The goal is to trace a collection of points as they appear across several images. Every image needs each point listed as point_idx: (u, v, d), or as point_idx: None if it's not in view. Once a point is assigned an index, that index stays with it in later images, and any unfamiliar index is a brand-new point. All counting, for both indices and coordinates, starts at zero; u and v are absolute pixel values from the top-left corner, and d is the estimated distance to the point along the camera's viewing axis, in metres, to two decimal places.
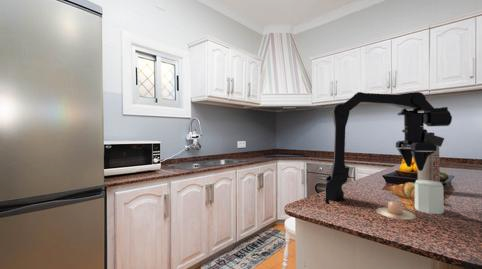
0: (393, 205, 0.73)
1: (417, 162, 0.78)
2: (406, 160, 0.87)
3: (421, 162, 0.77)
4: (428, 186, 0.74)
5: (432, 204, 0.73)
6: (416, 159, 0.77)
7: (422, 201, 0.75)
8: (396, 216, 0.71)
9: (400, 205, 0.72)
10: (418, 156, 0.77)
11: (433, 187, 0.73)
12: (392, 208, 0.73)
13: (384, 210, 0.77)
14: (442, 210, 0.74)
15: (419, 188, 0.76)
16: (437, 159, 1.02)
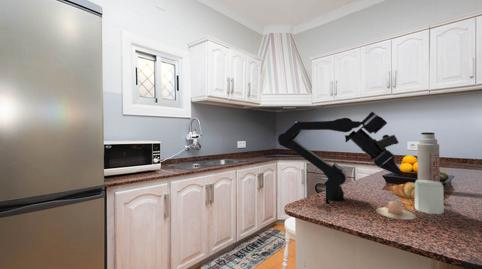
0: (393, 205, 0.73)
1: (392, 171, 0.77)
2: None
3: (395, 169, 0.76)
4: (428, 186, 0.74)
5: (432, 204, 0.73)
6: (389, 170, 0.77)
7: (422, 201, 0.75)
8: (396, 216, 0.71)
9: (400, 205, 0.72)
10: (387, 167, 0.77)
11: (433, 187, 0.73)
12: (392, 208, 0.73)
13: (384, 210, 0.77)
14: (442, 210, 0.74)
15: (419, 188, 0.76)
16: (437, 159, 1.02)
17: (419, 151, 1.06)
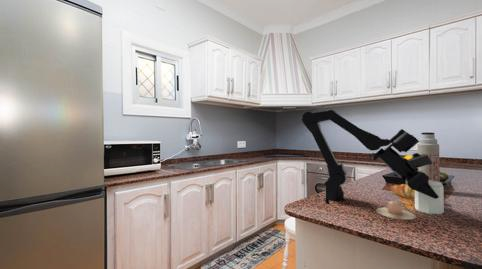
0: (393, 205, 0.73)
1: (426, 193, 0.73)
2: None
3: (429, 191, 0.73)
4: None
5: (432, 205, 0.73)
6: (422, 192, 0.73)
7: (422, 201, 0.75)
8: (396, 216, 0.71)
9: (400, 205, 0.72)
10: (420, 189, 0.73)
11: (433, 187, 0.73)
12: (392, 208, 0.73)
13: (384, 210, 0.77)
14: (442, 210, 0.74)
15: None
16: (437, 159, 1.02)
17: (419, 151, 1.06)
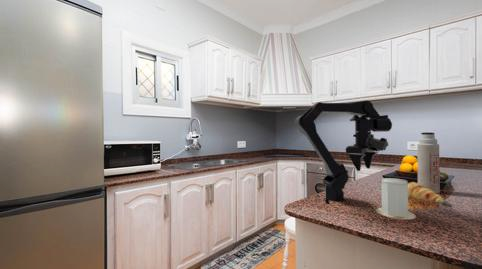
0: None
1: (354, 163, 0.89)
2: (365, 162, 0.95)
3: (357, 163, 0.88)
4: (387, 184, 0.73)
5: (391, 203, 0.72)
6: (352, 160, 0.89)
7: (384, 199, 0.74)
8: (396, 216, 0.71)
9: None
10: (353, 158, 0.88)
11: (392, 185, 0.72)
12: None
13: None
14: (404, 210, 0.71)
15: (382, 185, 0.75)
16: (437, 159, 1.02)
17: (419, 151, 1.06)
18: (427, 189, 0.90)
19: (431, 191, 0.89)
